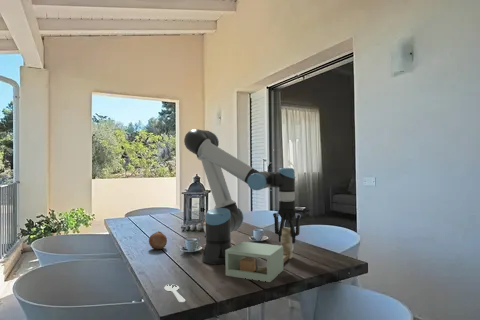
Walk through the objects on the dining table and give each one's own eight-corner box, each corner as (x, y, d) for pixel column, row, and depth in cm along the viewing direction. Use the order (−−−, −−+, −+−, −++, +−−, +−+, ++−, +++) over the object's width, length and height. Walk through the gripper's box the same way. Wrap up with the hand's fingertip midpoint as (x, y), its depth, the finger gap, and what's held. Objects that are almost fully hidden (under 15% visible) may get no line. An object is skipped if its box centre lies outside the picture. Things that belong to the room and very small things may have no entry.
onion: (158, 252, 184) (160, 234, 189) (169, 250, 179) (171, 231, 183) (143, 249, 177) (146, 230, 182) (155, 247, 172) (157, 227, 177)
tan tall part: (258, 272, 141) (257, 238, 141) (278, 255, 166) (278, 226, 166) (274, 274, 138) (273, 240, 138) (292, 256, 163) (292, 227, 163)
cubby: (225, 275, 138) (225, 250, 138) (242, 264, 152) (242, 241, 152) (270, 282, 129) (269, 255, 129) (283, 269, 144) (283, 245, 144)
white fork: (175, 304, 111) (175, 302, 111) (161, 286, 127) (161, 285, 127) (190, 301, 113) (190, 299, 113) (175, 284, 129) (175, 282, 129)
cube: (240, 272, 142) (239, 260, 142) (245, 268, 146) (244, 257, 146) (251, 274, 139) (250, 261, 139) (255, 270, 144) (255, 258, 144)
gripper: (306, 200, 162) (306, 249, 162) (272, 198, 169) (272, 245, 169) (302, 202, 155) (302, 253, 155) (267, 200, 162) (267, 249, 162)
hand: (287, 249), depth 162 cm, fingers closed on tan tall part, 4 cm apart
